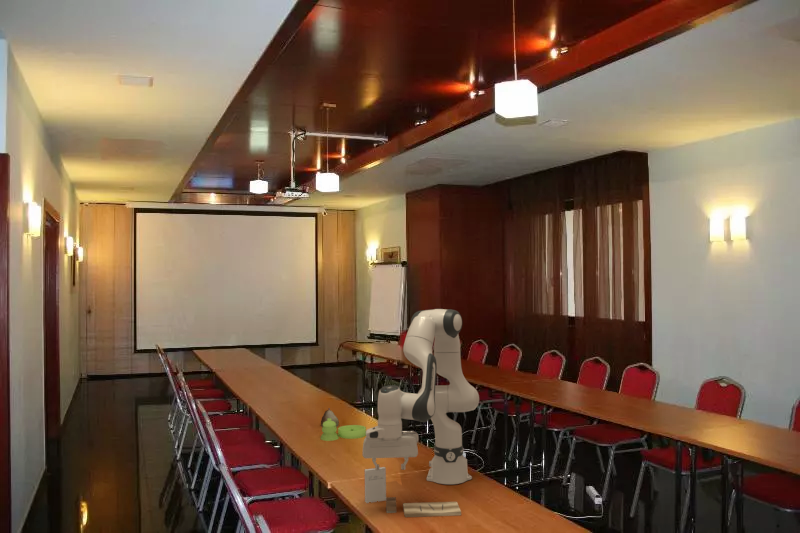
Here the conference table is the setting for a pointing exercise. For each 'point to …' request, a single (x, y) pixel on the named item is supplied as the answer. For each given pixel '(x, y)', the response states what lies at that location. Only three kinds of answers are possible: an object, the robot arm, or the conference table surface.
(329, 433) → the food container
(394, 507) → the block
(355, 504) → the conference table surface
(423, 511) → the board
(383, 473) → the hard drive
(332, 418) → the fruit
